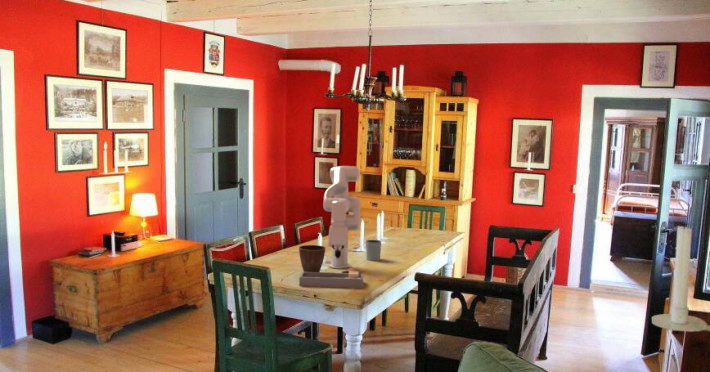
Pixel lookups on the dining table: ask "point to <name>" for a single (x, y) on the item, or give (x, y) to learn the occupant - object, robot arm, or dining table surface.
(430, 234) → the dining table surface
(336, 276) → the eyeshadow palette tray
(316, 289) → the dining table surface
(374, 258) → the grey tapered cup
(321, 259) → the plant pot
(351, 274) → the maple block
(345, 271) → the sunglasses case
